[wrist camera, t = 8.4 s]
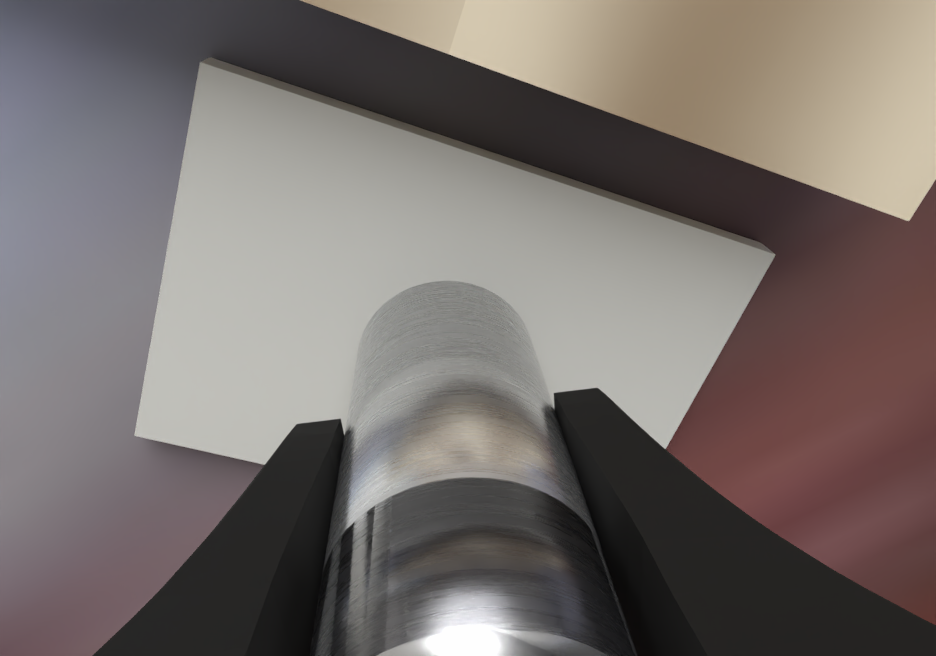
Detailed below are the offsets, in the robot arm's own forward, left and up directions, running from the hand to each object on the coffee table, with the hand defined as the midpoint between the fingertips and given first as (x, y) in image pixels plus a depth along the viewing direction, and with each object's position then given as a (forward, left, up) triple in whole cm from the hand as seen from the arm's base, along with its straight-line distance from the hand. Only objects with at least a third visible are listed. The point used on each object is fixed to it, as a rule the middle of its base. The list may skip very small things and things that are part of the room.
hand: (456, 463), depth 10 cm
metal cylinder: (0, 0, -2) cm, 3 cm away
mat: (0, 0, -4) cm, 4 cm away
